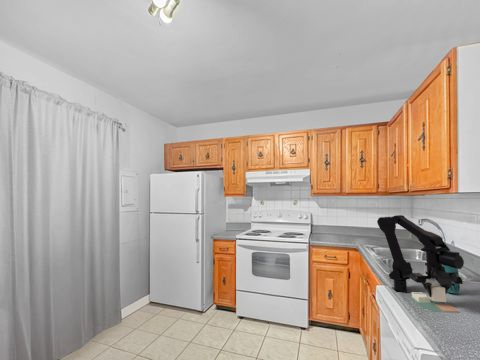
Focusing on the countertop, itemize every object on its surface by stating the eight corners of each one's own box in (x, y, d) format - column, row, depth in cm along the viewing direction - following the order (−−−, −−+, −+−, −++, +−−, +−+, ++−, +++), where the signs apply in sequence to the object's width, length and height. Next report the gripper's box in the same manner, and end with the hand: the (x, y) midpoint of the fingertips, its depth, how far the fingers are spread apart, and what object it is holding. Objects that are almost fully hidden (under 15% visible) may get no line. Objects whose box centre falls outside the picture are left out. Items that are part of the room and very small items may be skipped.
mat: (407, 296, 120) (407, 295, 120) (436, 297, 118) (436, 296, 118) (427, 312, 104) (426, 311, 104) (460, 313, 102) (460, 312, 102)
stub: (428, 297, 112) (427, 284, 112) (440, 297, 111) (439, 284, 111) (433, 301, 108) (432, 287, 108) (446, 301, 107) (445, 288, 107)
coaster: (435, 305, 110) (435, 304, 110) (449, 305, 109) (449, 304, 109) (444, 311, 104) (444, 310, 104) (459, 312, 103) (459, 311, 103)
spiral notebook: (411, 296, 119) (411, 292, 119) (422, 297, 118) (422, 292, 118) (418, 302, 113) (418, 297, 113) (430, 302, 112) (430, 297, 112)
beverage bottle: (440, 292, 123) (437, 253, 124) (448, 290, 125) (445, 251, 127) (455, 297, 117) (452, 256, 118) (463, 295, 119) (460, 254, 120)
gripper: (421, 267, 104) (424, 304, 103) (470, 268, 101) (474, 306, 100) (408, 260, 115) (410, 293, 114) (452, 261, 112) (455, 295, 111)
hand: (436, 297), depth 110 cm, fingers closed on stub, 5 cm apart
